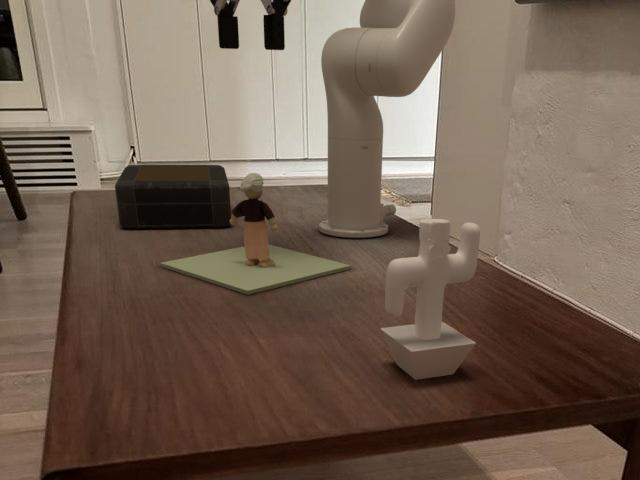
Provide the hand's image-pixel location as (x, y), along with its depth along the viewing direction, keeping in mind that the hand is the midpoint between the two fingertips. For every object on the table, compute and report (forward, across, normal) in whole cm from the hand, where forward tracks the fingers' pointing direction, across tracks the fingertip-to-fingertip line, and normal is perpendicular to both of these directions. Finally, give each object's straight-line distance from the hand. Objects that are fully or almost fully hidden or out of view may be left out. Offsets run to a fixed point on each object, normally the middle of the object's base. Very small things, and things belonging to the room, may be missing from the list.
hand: (251, 49), depth 103 cm
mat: (+28, +6, -6) cm, 30 cm away
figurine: (+28, +49, -20) cm, 60 cm away
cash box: (+28, -34, +8) cm, 45 cm away
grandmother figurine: (+28, +6, -6) cm, 29 cm away
